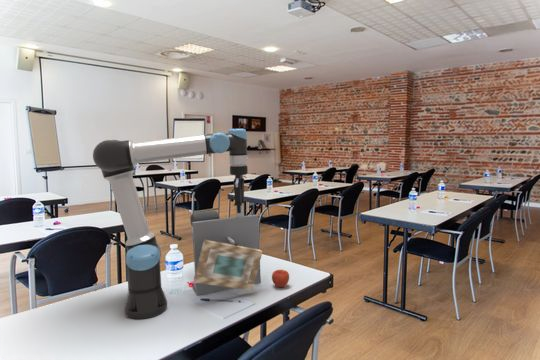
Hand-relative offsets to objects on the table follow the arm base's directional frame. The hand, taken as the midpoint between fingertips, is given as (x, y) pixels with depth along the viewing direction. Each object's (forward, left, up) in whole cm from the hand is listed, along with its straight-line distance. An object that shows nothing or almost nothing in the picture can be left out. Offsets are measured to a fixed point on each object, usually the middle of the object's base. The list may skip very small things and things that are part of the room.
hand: (240, 219), depth 159 cm
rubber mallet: (-11, +17, -29) cm, 35 cm away
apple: (+13, -13, -29) cm, 34 cm away
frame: (-13, -14, -22) cm, 29 cm away
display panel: (-7, -4, -28) cm, 30 cm away
